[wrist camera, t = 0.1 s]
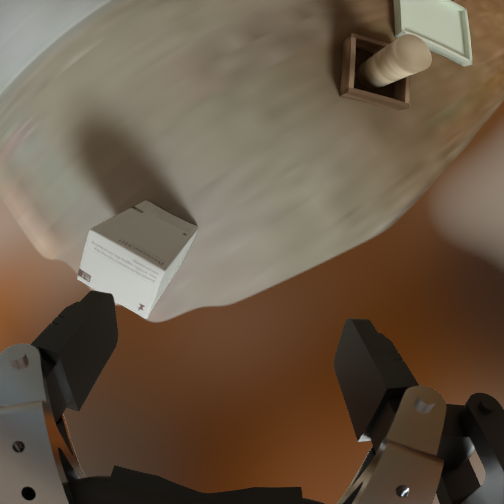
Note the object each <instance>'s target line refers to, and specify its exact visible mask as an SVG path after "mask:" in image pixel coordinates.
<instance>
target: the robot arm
mask: <svg viewBox="0 0 504 504" xmlns="http://www.w3.org/2000/svg"><path fill="white" fill-rule="evenodd" d="M117 341H118V328H117V321H116V311H115V302H114V297H113V295H112V294H111V293H105V292H99V291H93V290H92V291H90V292H89V293H88V294H87V295H86V296H85V297H84V298H83V299H82V300H81V301H80V302H76V303H74V304H72V305H70V306H68V307H66V308H65V309H64V310H63V311H62V312H61V313H60V314H59V315H58V317H56V318H55V319H54V320H53V321H52V324H49V326H48V327H47V328H46V329H45V330H44V331H43V332H42V333H41V334H40V335H39V336H38V337H37V338H36V339H35V340H34V341H33V343H32V344H31V345H29V344H16V345H13V346H10V347H9V348H7V349H5V350H4V351H3V352H2V353H1V355H0V504H324V503H321V502H319V501H315V500H311V499H307V498H302V490H301V487H284V488H282V487H281V488H266V487H253V488H247V489H241V490H235V491H227V492H218V493H201V492H198V491H195V490H192V489H189V488H187V487H184V486H181V485H179V484H176V483H174V482H171V481H169V480H166V479H164V478H162V477H159V476H156V475H151V474H147V473H142V472H138V471H134V470H130V469H126V468H122V467H119V466H114V468H113V471H112V474H111V476H93V477H85V475H84V473H83V471H82V469H81V467H80V465H79V462H78V459H77V456H76V453H75V451H74V448H73V444H72V441H71V438H70V435H69V432H68V428H67V424H66V421H65V418H64V415H63V412H64V410H65V409H66V407H67V408H70V409H72V410H76V411H80V409H81V407H82V405H83V403H84V402H85V400H86V398H87V396H88V394H89V392H90V391H91V389H92V387H93V385H94V384H95V382H96V380H97V378H98V377H99V375H100V373H101V371H102V370H103V368H104V366H105V365H106V363H107V361H108V360H109V358H110V356H111V354H112V353H113V351H114V349H115V347H116V345H117ZM334 369H335V373H336V376H337V379H338V382H339V385H340V388H341V391H342V394H343V397H344V400H345V403H346V406H347V409H348V412H349V415H350V418H351V422H352V425H353V428H354V431H355V434H356V437H357V440H358V442H362V441H369V440H371V441H372V444H373V446H372V448H371V449H370V451H369V453H368V454H367V456H366V458H365V460H364V462H363V464H362V466H361V467H360V469H359V471H358V473H357V474H356V476H355V478H354V480H353V481H352V483H351V485H350V486H349V488H348V490H347V491H346V492H345V494H344V495H343V497H342V498H341V500H340V501H339V502H338V503H337V504H432V503H433V500H434V497H435V494H437V497H438V500H439V503H440V504H504V410H503V409H502V407H501V405H500V404H499V402H498V401H497V400H496V399H494V398H493V397H492V396H490V395H488V394H485V393H475V394H473V395H471V396H470V398H469V399H468V401H467V402H466V404H465V405H464V406H463V405H452V404H446V402H445V400H444V398H443V397H442V396H441V394H439V393H438V392H437V391H435V390H434V389H432V388H429V387H426V386H419V384H418V383H417V381H416V380H415V378H414V376H413V375H412V373H411V371H410V370H409V368H408V367H407V365H406V364H405V362H404V361H402V357H401V355H400V354H399V353H398V351H397V349H396V348H395V346H394V345H393V343H392V342H391V341H390V340H389V339H388V338H386V337H385V336H384V335H383V334H381V333H378V332H377V331H376V329H375V327H374V326H373V324H372V323H371V321H370V320H369V319H347V320H346V322H345V325H344V328H343V331H342V335H341V338H340V341H339V345H338V348H337V351H336V354H335V359H334ZM475 451H477V454H478V455H479V458H480V460H481V462H482V464H483V466H484V468H485V471H486V478H485V481H484V483H483V484H482V486H480V484H479V481H478V479H477V477H476V474H475V472H474V470H473V468H472V466H471V463H470V461H469V458H470V457H471V456H472V454H473V453H474V452H475Z"/></svg>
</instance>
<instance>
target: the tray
mask: <svg viewBox="0 0 504 504" xmlns="http://www.w3.org/2000/svg"><path fill="white" fill-rule="evenodd" d="M394 20H395V37H398V38H400V37H401V36H403V35H405V34H412V35H415V36H417V37H419V38H420V39H422V40H423V41H424V42H425V43H426V45H427V46H428V48H429V50H431V51H433V52H435V53H437V54H440V55H442V56H444V57H446V58H448V59H450V60H452V61H454V62H456V63H458V64H460V65H462V66H468V65H471V64H472V51H471V40H470V31H469V23H468V16H467V10H466V9H465V8H463V7H462V6H460V5H458V4H456V3H454V2H452V1H451V0H394Z"/></svg>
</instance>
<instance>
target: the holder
mask: <svg viewBox="0 0 504 504" xmlns="http://www.w3.org/2000/svg"><path fill="white" fill-rule="evenodd" d="M388 45H389V44H388V43H385V42H382V41H378V40H375V39H372V38H368V37H365V36H361V35H358V34H354V33H351V34H350V35H349V36H348V37H347V38H346V39H345V40H344V41H343V58H342V74H341V88H340V97H344V98H349V99H353V100H357V101H362V102H366V103H370V104H374V105H377V106H381V107H385V108H388V109H392V110H395V111H398V110H402V109H407V108H409V96H410V76H407V77H405V78H402V79H400V80H397V81H395V82H394V97H393V99H392V98H389V97H385V96H382V95H378V94H374V93H371V92H367V91H363V90H359V89H355V88H354V73H355V54H356V49H360V50H363V51H367V52H371V53H374V54H376V53H377V52H379V51H380V50H382V49H383V48H385V47H386V46H388Z"/></svg>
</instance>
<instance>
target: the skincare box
mask: <svg viewBox="0 0 504 504" xmlns="http://www.w3.org/2000/svg"><path fill="white" fill-rule="evenodd" d="M197 231H198V226H195V225H193V224H191V223H188V222H186V221H184V220H182V219H180V218H178V217H176V216H174V215H172V214H170V213H168V212H166V211H165V210H163V209H161V208H159V207H158V206H156V205H154V204H153V203H151V202H149V201H147V200H145V201H143V202H141V203H139V204H137V205H135V206H133V207H131V208H130V209H127V210H126V211H124V212H122V213H120V214H118V215H116V216H114V217H112V218H110V219H108V220H106V221H105V222H103V223H101V224H99V225H97V226H95V227H93V228H92V229H90V230H89V233H88V236H87V240H86V244H85V248H84V252H83V255H82V259H81V264H80V268H79V272H78V275H77V279H78V280H80V281H82V282H83V283H85V284H87V285H88V286H90V287H92V288H93V289H95V290H97V291H99V292H105V293H111V294H112V295H113V297H114V302H115V303H119V304H121V305H123V306H124V307H126V308H128V309H130V310H131V311H133V312H135V313H137V314H138V315H140V316H142V317H143V318H145V319H147V318H148V316H149V314H150V312H151V311H152V309H153V307H154V306H155V304H156V303H157V301H158V299H159V298H160V296H161V295H162V293H163V291H164V290H165V288H166V287H167V285H168V284H169V282H170V280H171V279H172V277H173V276H174V274H175V273H176V271H177V270H178V268H179V267H180V265H181V264H182V262H183V260H184V258H185V256H186V254H187V251H188V249H189V247H190V245H191V243H192V241H193V239H194V237H195V235H196V233H197Z"/></svg>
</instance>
